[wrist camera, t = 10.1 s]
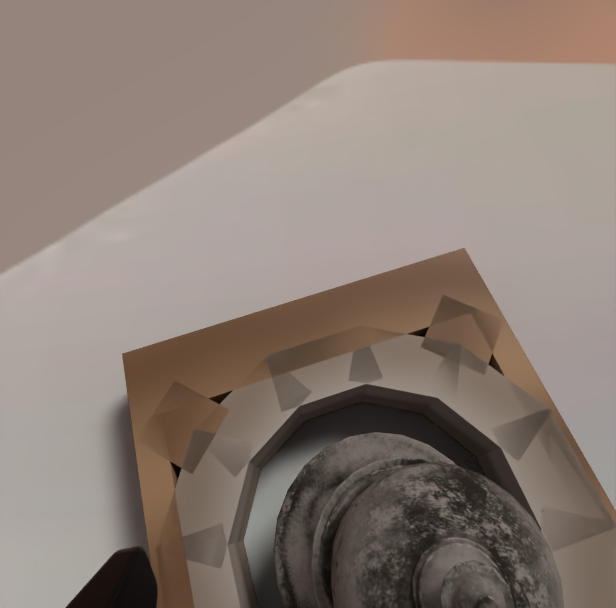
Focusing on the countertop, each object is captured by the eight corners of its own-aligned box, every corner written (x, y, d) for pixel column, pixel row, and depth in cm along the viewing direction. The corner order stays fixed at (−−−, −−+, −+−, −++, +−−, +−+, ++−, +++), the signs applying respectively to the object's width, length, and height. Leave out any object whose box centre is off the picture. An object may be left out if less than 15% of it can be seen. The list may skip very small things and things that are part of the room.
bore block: (710, 769, 12) (798, 828, 10) (247, 977, 11) (224, 1100, 8) (448, 280, 19) (464, 247, 16) (149, 374, 18) (122, 353, 15)
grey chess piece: (253, 581, 14) (10, 781, 4) (335, 420, 16) (341, 235, 6) (423, 695, 13) (904, 1642, 2) (489, 501, 15) (893, 465, 4)
